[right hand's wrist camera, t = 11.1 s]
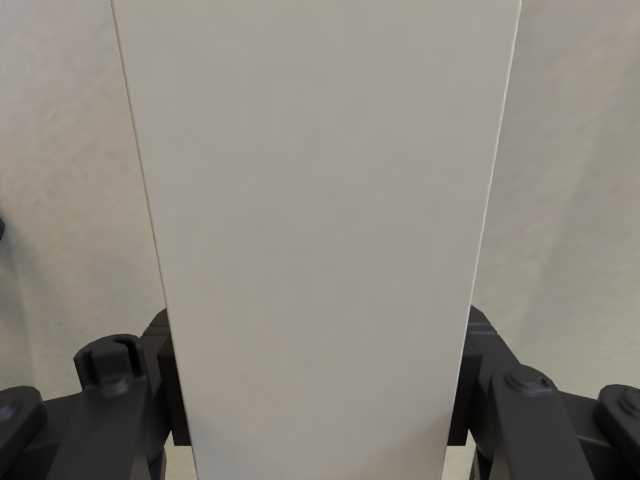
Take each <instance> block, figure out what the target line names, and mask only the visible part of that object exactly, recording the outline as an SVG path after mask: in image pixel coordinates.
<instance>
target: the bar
mask: <svg viewBox="0 0 640 480" xmlns="http://www.w3.org/2000/svg"><path fill="white" fill-rule="evenodd" d="M521 5H522V0H111V6H112V11H113V17H114V22H115V28H116V33H117V39H118V44H119V50H120V55H121V61H122V66H123V72H124V77H125V83H126V88H127V94H128V99H129V105H130V110H131V116H132V121H133V127H134V132H135V138H136V143H137V149H138V154H139V160H140V165H141V171H142V176H143V182H144V187H145V193H146V198H147V204H148V209H149V215H150V220H151V226H152V232H153V237H154V243H155V248H156V254H157V259H158V265H159V270H160V276H161V281H162V287H163V292H164V298H165V303H166V309H167V314H168V320H169V325H170V331H171V336H172V342H173V347H174V353H175V358H176V364H177V369H178V375H179V380H180V386H181V391H182V397H183V402H184V408H185V413H186V419H187V424H188V430H189V435H190V441H191V446H192V452H193V457H194V463H195V468H196V474H197V479H198V480H441V477H442V471H443V466H444V460H445V454H446V448H447V442H448V436H449V430H450V424H451V418H452V412H453V406H454V401H455V395H456V389H457V383H458V377H459V371H460V365H461V359H462V353H463V347H464V342H465V336H466V330H467V324H468V318H469V312H470V306H471V300H472V294H473V288H474V283H475V277H476V271H477V265H478V259H479V253H480V247H481V241H482V235H483V229H484V223H485V218H486V212H487V206H488V200H489V194H490V188H491V182H492V176H493V170H494V164H495V159H496V153H497V147H498V141H499V135H500V129H501V123H502V117H503V111H504V105H505V99H506V94H507V88H508V82H509V76H510V70H511V64H512V58H513V52H514V46H515V40H516V35H517V29H518V23H519V17H520V11H521Z"/></svg>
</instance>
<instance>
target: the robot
mask: <svg viewBox="0 0 640 480" xmlns="http://www.w3.org/2000/svg"><path fill="white" fill-rule="evenodd" d="M4 227H5V225H4V223H3V222H2V220H1V218H0V239H1V236H2V233H3V230H4Z"/></svg>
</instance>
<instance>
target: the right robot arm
mask: <svg viewBox="0 0 640 480" xmlns="http://www.w3.org/2000/svg"><path fill="white" fill-rule="evenodd" d="M73 360H74V363H75V366H76V370H77V373H78V376H79V380H80V383H81V386H82V392H80V393H77V394H73V395H69V396H65V397H60V398H56V399H51V400H47V401H43V400H42V397H41V394H40V392H39V391H38V390H37V389H36V388H34V387H29V386H19V387H12V388H8V389H5V390H2V391H0V480H165V472H166V462H167V460H166V454H165V449H164V444H165V442H166V440H167V438H168V435H169V433H170V431H172V436H173V441H174V446H191V441H190V435H189V430H188V424H187V419H186V413H185V408H184V402H183V397H182V391H181V386H180V380H179V375H178V369H177V364H176V358H175V353H174V347H173V342H172V336H171V331H170V325H169V320H168V314H167V309H166V308H165V309H164V310H162V311H161V312H159V313H158V314H157V315H156V316H155V318H154V319H153V320H152V322H151V323H150V325H149V327H147V329H146V330H145V331H144V333H143V336H141V337H140V338H138V337H137V336H134V335H130V334H115V335H111V336H107V337H103V338H100V339H98V340H96V341H93V342H91V343H89V344H88V345H86V346H85V347H84V348H82V349H81V350H79V352H78V353H77V354H76V355H75V357H74V358H73ZM468 430H470V432H471V434H472V436H473V439H474V441H475V443H476V449H475V453H474V458H473V463H472V467H471V472H470V478H469V480H640V389H638V388H634V387H631V386H626V385H619V384H614V385H606V386H605V387H604V388H603V389H601V391H600V393H599V396H598V399H597V400H596V399H591V398H587V397H582V396H578V395H573V394H569V393H565V392H562V391H558V389H557V387H556V386H555V384H554V383H553V382H552V380H551V379H549V378H548V377H547V376H546V375H544V374H543V373H542V372H540V371H538V370H536V369H534V368H532V367H529V366H526V365H522V364H520V362H519V361H518V360H517V358H516V357H515V356H514V354H513V353H512V352H511V350H510V349H509V348H508V346H507V345H506V344H505V342H504V341H503V339H502V338H501V337H500V335H497V331H496V330H495V329H494V327H493V326H491V323H490V322H489V321H488V319H487V318H486V317H485V315H484V314H483V313H482V312H481V311H479V310H478V309H476V308H475V307H474V306H472V305H471V306H470V312H469V318H468V324H467V330H466V336H465V342H464V347H463V353H462V359H461V365H460V371H459V377H458V383H457V389H456V395H455V401H454V406H453V412H452V418H451V424H450V430H449V436H448V442H447V446H465V445H466V440H467V435H468Z"/></svg>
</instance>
